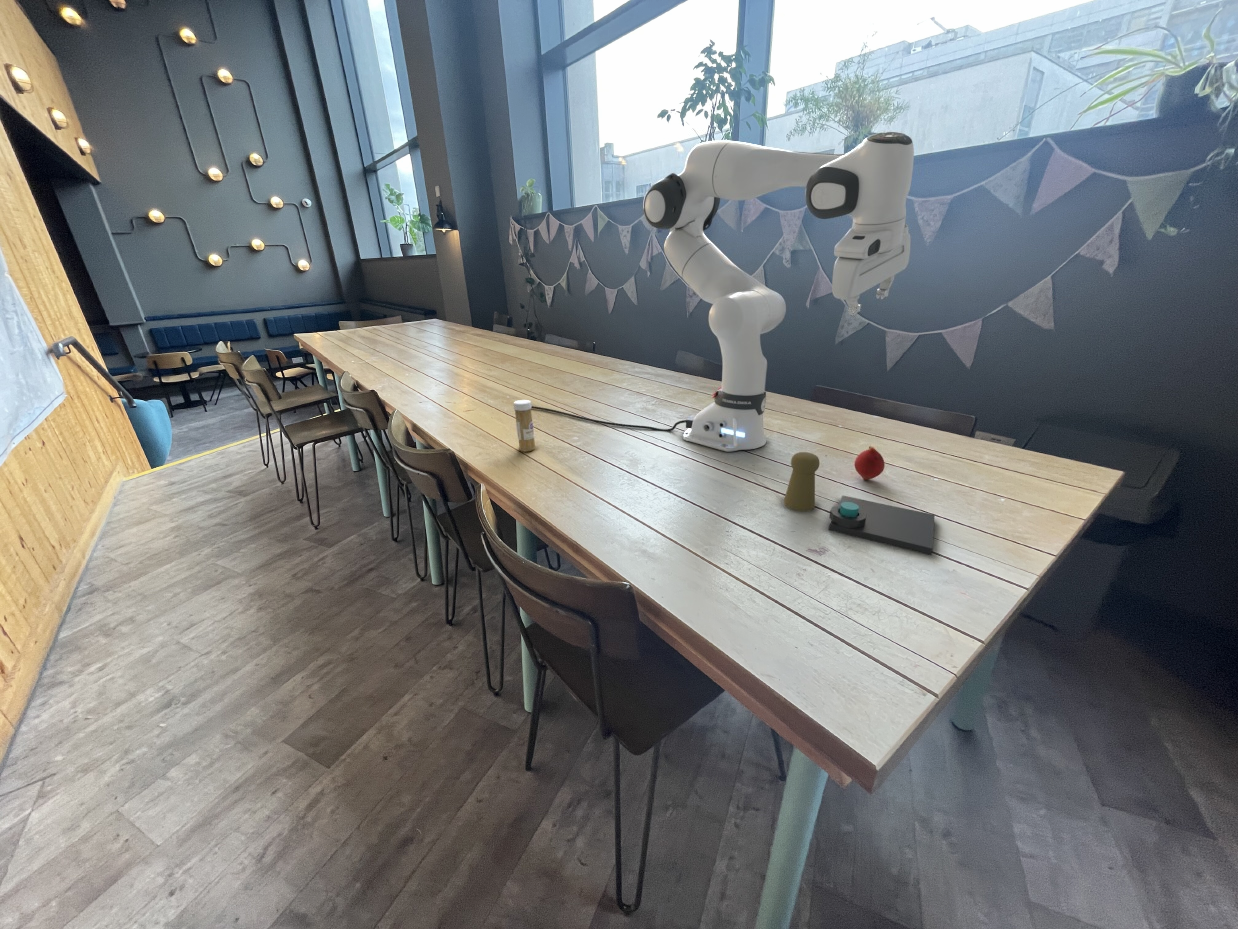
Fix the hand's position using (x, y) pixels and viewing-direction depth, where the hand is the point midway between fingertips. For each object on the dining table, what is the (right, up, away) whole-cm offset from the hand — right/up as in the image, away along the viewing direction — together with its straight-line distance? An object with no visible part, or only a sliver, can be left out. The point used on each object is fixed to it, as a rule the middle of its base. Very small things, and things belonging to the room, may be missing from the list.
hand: (868, 305), depth 98 cm
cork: (-15, -42, -2) cm, 44 cm away
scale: (-3, -45, -11) cm, 46 cm away
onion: (+3, -37, +7) cm, 38 cm away
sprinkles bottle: (-77, -29, +31) cm, 88 cm away
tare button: (-10, -42, -12) cm, 45 cm away
